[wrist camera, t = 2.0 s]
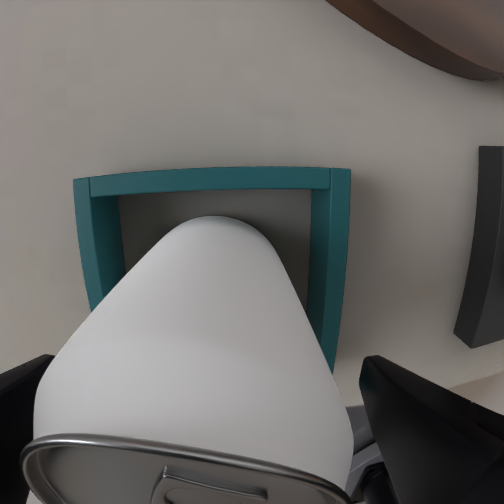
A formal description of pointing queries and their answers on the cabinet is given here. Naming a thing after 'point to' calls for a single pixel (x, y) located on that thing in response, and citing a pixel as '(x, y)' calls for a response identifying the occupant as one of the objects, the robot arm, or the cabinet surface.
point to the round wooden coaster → (438, 31)
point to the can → (193, 386)
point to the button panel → (486, 258)
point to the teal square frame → (224, 178)
